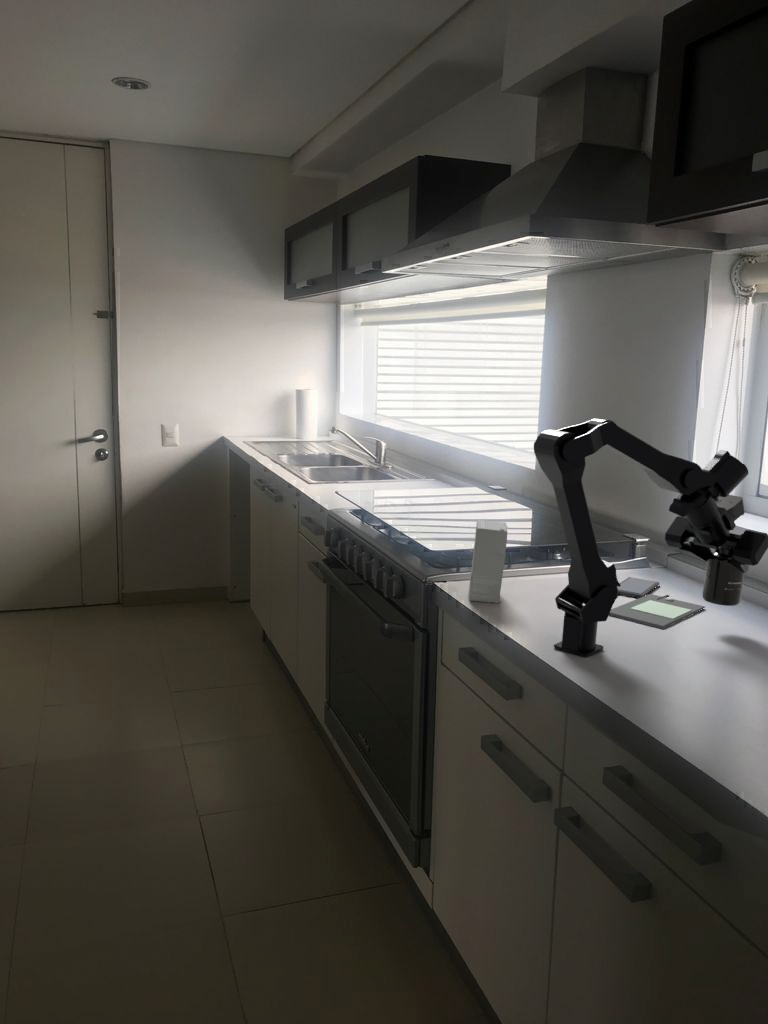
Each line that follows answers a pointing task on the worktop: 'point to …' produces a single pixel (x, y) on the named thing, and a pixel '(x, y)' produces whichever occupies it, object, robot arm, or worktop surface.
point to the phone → (636, 587)
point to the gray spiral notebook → (655, 611)
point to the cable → (648, 592)
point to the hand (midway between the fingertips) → (729, 566)
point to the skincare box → (488, 561)
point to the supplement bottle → (722, 578)
